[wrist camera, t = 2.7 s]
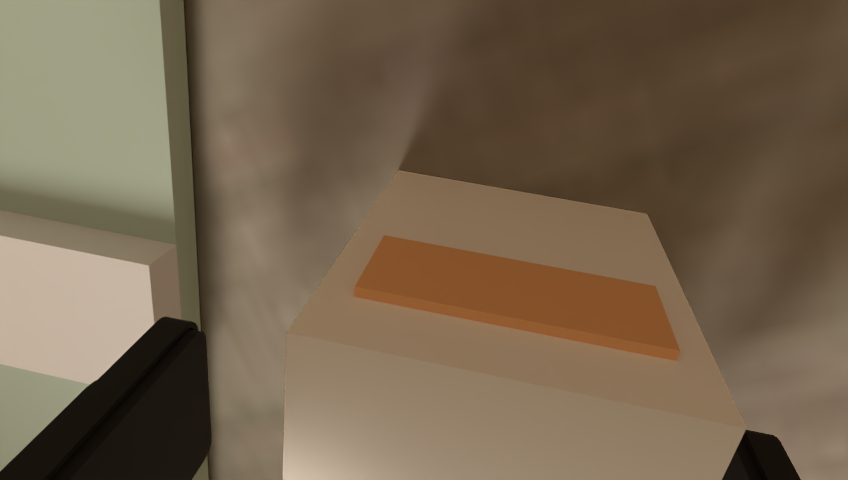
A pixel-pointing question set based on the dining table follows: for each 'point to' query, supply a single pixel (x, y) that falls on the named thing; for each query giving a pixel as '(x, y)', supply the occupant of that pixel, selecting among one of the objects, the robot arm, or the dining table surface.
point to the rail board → (89, 197)
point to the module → (502, 348)
